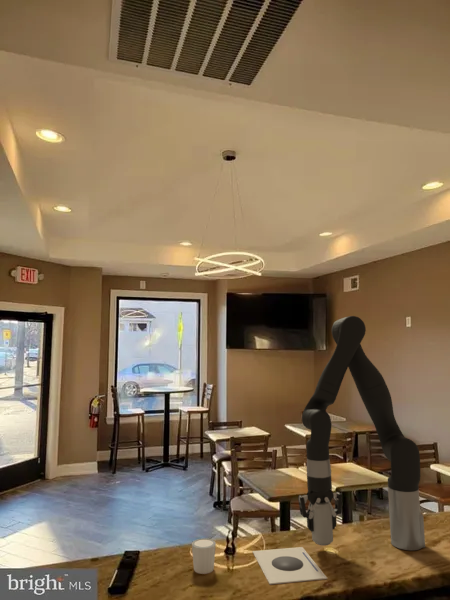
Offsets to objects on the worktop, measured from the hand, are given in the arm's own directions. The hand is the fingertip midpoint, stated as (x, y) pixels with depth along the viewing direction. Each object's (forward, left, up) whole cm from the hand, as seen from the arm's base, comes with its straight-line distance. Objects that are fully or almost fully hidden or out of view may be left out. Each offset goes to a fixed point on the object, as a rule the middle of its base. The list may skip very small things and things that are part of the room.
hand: (321, 529), depth 138 cm
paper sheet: (+13, +7, -6) cm, 16 cm away
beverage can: (0, 0, -4) cm, 4 cm away
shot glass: (+37, +5, -7) cm, 38 cm away
